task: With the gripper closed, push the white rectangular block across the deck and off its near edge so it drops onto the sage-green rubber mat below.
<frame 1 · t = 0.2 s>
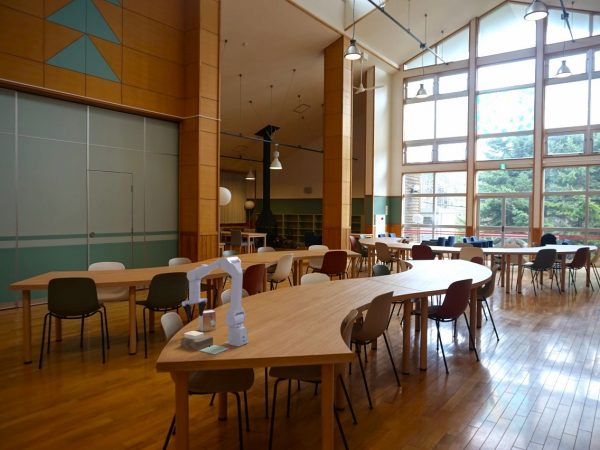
hand: (194, 317, 230), 10 cm above the table, tool pointing down, fingers open, 7 cm apart
mat: (214, 350, 206), on the table
deck: (196, 345, 212), on the table
white rectangular block: (194, 337, 213), point 4 cm above the table, touching deck
small box: (207, 330, 241), on the table
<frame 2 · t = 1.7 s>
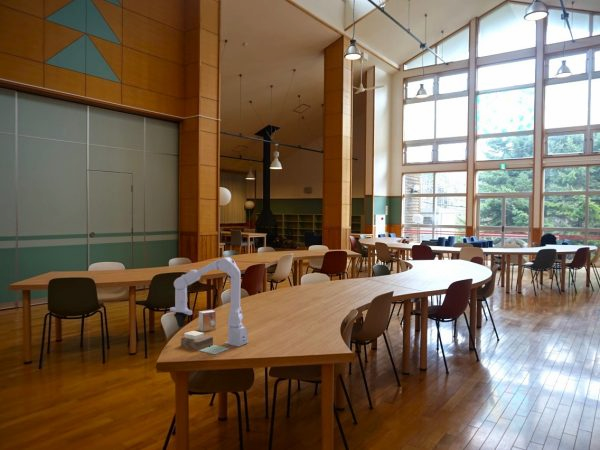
hand: (181, 327, 218), 8 cm above the table, tool pointing down, fingers closed
nothing on the table moved.
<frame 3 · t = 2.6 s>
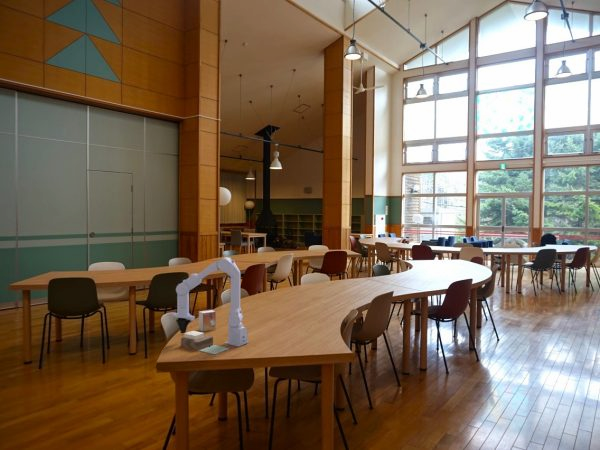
hand: (183, 332, 217), 5 cm above the table, tool pointing down, fingers closed
nothing on the table moved.
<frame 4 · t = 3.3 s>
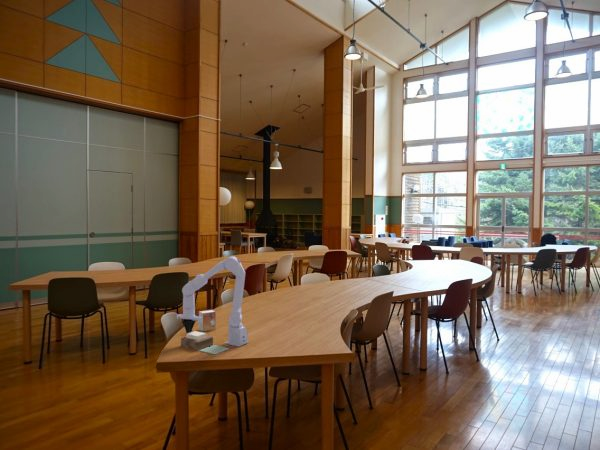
hand: (189, 334, 215), 5 cm above the table, tool pointing down, fingers closed
white rectangular block: (196, 337, 212), point 4 cm above the table, touching deck
everything else where it was.
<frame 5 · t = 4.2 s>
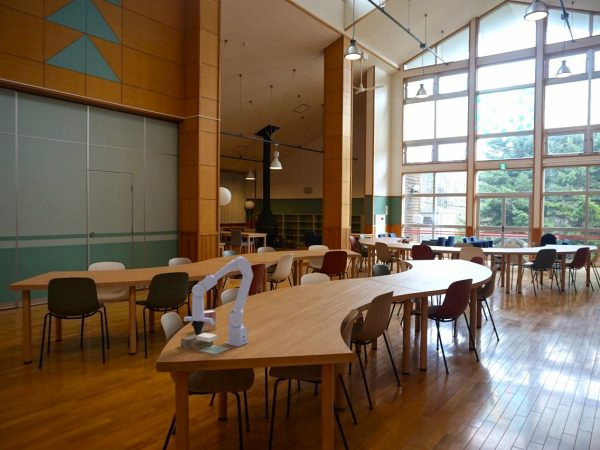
hand: (198, 336, 211), 5 cm above the table, tool pointing down, fingers closed
white rectangular block: (206, 339, 210), point 4 cm above the table, touching deck, gripper
everything else where it was.
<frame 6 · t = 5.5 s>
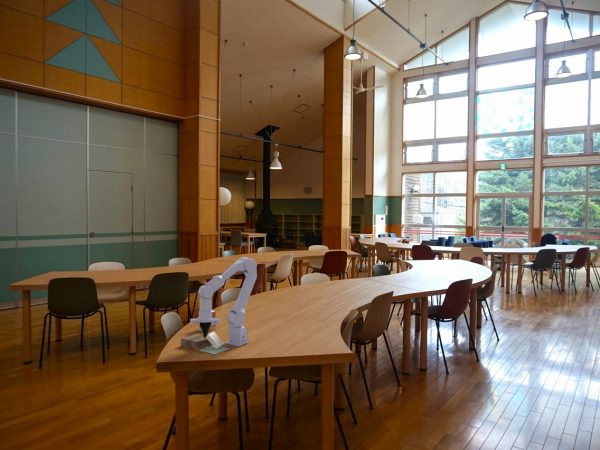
hand: (205, 337, 209), 5 cm above the table, tool pointing down, fingers closed
white rectangular block: (213, 341, 209), point 3 cm above the table, tilted 44°, touching gripper, mat
everything else where it was.
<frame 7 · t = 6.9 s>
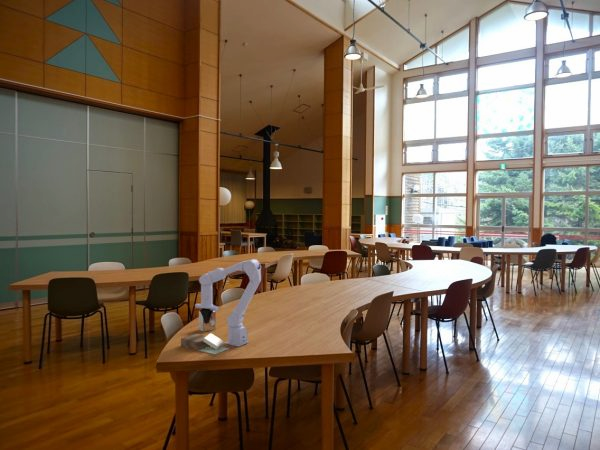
hand: (206, 323, 219), 9 cm above the table, tool pointing down, fingers closed
white rectangular block: (212, 342, 209), point 2 cm above the table, tilted 27°, touching deck, mat
everything else where it was.
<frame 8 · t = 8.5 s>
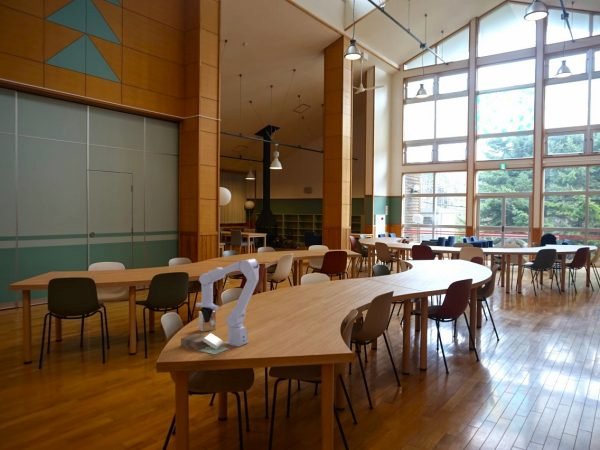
hand: (207, 322, 222), 9 cm above the table, tool pointing down, fingers closed
nothing on the table moved.
at the end: white rectangular block inside the target area on the mat (3.6 cm from its centre), point 2.5 cm above the mat's base; white rectangular block touching deck, mat; white rectangular block moved 11.3 cm from its start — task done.
